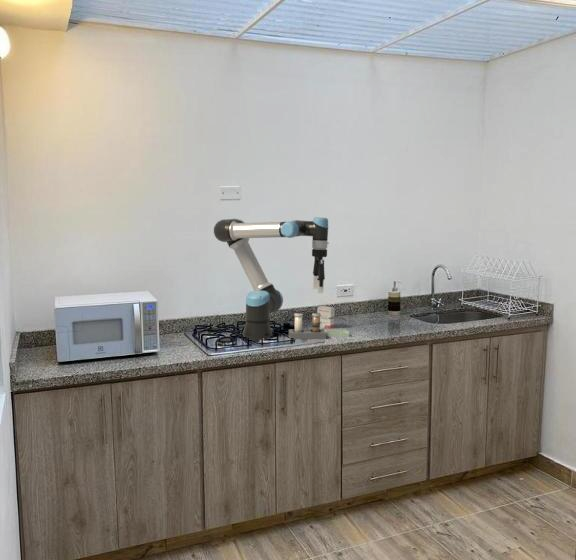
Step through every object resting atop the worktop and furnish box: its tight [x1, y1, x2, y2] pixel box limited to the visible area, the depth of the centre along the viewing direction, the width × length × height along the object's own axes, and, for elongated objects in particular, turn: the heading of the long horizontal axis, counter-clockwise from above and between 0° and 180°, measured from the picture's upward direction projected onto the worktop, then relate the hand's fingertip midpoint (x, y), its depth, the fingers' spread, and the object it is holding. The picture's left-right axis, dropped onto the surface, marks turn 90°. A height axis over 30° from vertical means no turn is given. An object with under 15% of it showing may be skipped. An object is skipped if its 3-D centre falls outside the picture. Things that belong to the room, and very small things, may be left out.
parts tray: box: [324, 329, 351, 338], centre depth 311 cm, size 12×9×2 cm
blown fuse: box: [311, 312, 321, 332], centre depth 304 cm, size 4×4×12 cm
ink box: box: [316, 305, 336, 329], centre depth 328 cm, size 9×5×12 cm, turn 58°
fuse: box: [294, 312, 304, 332], centre depth 303 cm, size 4×4×12 cm
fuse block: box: [288, 328, 327, 340], centre depth 304 cm, size 18×9×4 cm, turn 95°
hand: (318, 290), depth 303 cm, fingers open, 13 cm apart
